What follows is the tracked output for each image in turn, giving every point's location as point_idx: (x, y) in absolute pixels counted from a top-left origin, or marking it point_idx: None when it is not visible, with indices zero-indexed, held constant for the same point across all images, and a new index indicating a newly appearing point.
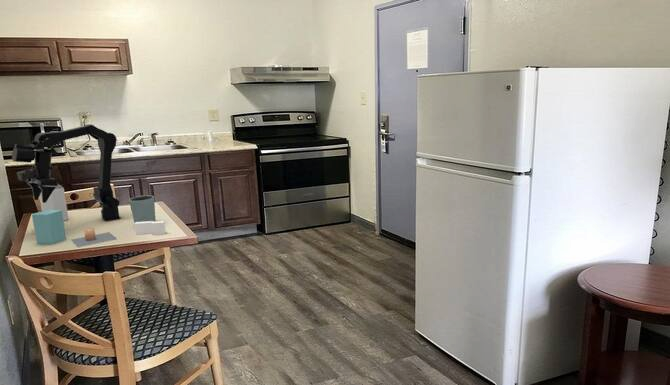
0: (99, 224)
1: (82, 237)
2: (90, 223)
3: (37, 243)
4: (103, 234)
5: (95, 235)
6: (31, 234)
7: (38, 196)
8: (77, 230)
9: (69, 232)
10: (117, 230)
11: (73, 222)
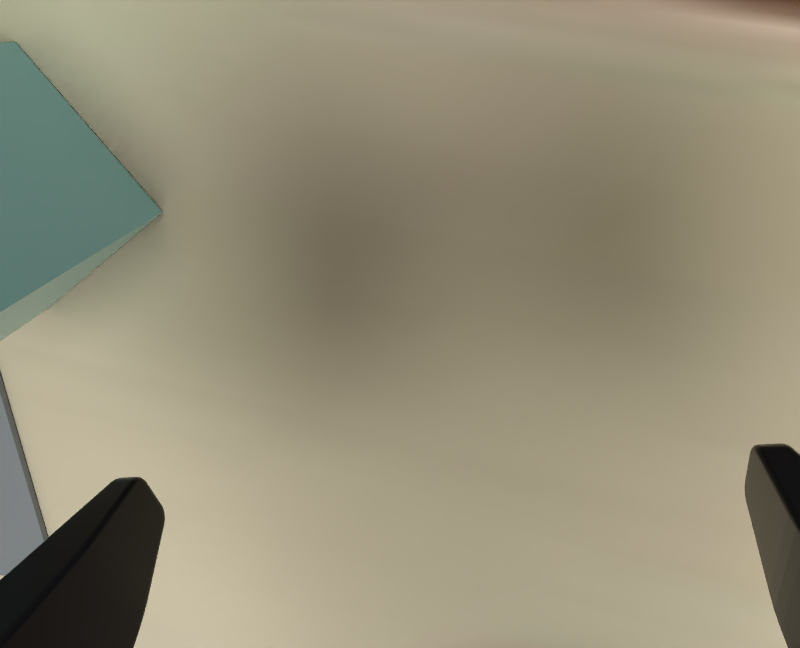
0: (410, 628)
1: (4, 416)
2: (524, 603)
3: (3, 46)
4: (4, 538)
5: (10, 496)
6: (590, 64)
7: (777, 602)
8: (335, 461)
9: (312, 395)
10: None
11: (743, 533)
